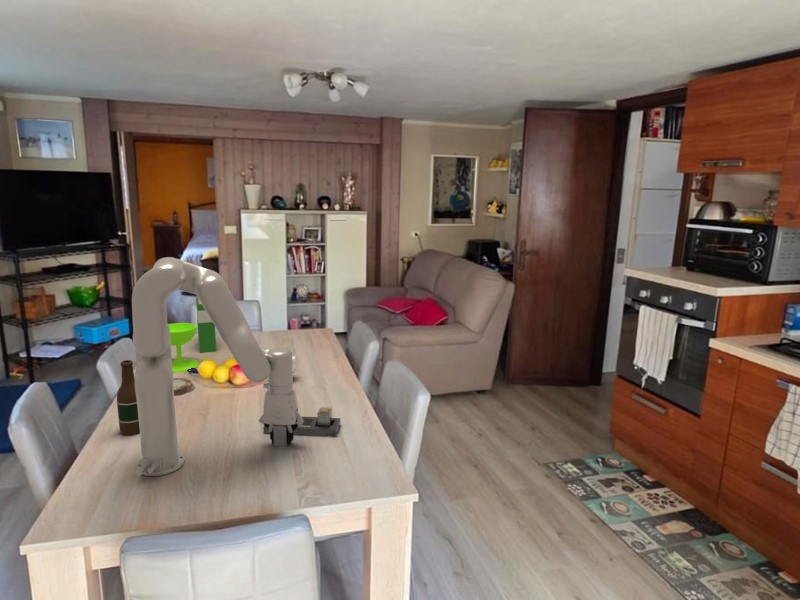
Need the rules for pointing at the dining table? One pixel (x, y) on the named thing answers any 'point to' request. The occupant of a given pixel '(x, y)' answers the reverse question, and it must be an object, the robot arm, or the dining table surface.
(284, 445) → the brushed metal block
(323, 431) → the rail
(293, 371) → the mechanical part
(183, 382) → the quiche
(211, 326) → the hardback book
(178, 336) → the green goblet
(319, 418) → the grey tan rectangular block
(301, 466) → the dining table surface
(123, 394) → the beer bottle
